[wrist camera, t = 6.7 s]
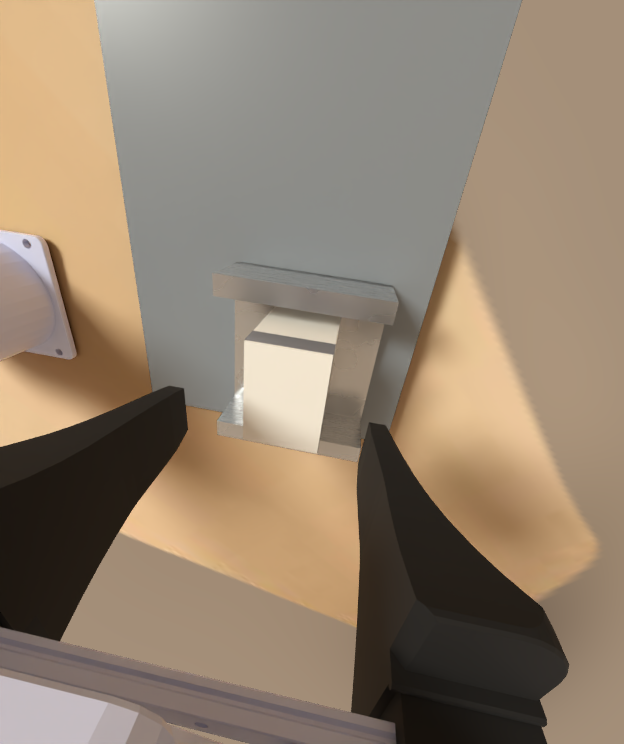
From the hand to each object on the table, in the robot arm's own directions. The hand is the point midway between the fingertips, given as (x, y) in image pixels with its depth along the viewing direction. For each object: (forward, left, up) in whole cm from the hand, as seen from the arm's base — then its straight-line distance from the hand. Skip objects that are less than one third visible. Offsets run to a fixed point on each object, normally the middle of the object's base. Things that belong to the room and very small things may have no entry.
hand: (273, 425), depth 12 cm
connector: (0, 0, -6) cm, 6 cm away
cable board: (-2, +5, -8) cm, 10 cm away
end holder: (0, 0, -7) cm, 7 cm away
